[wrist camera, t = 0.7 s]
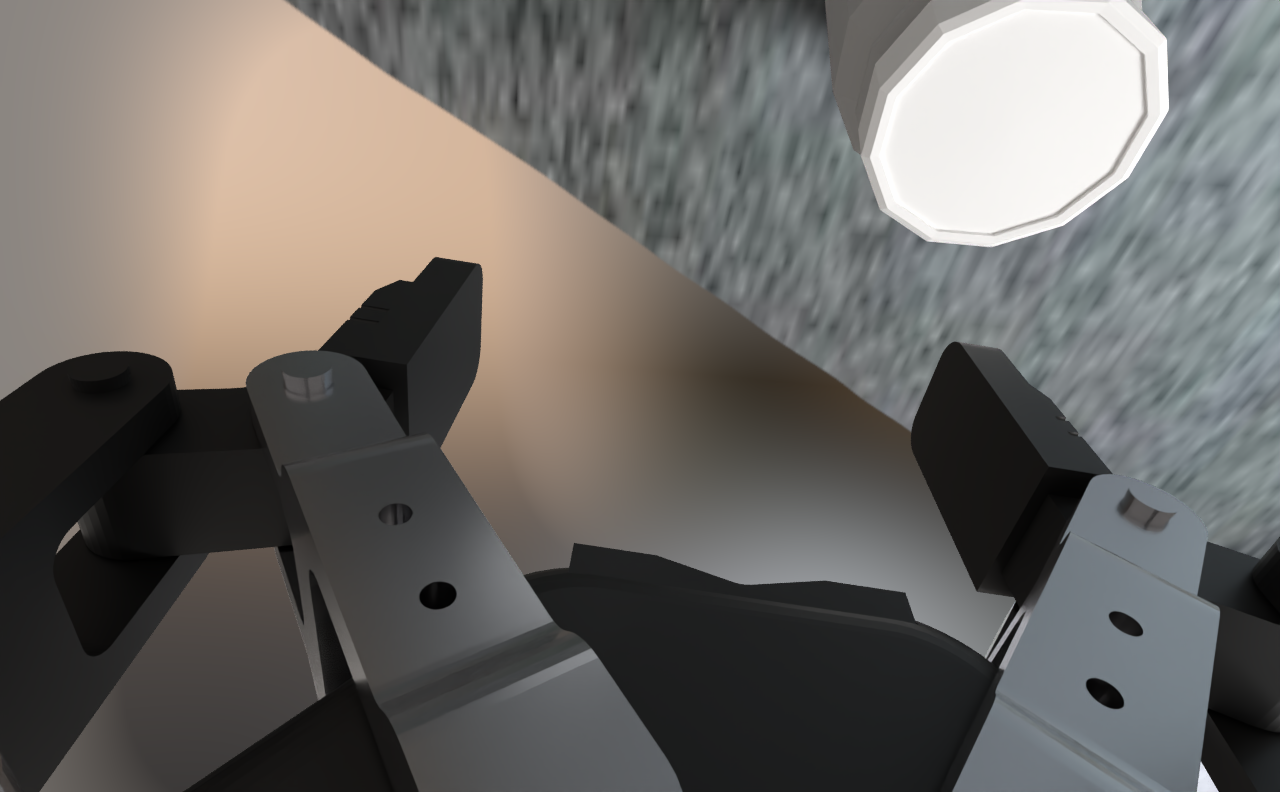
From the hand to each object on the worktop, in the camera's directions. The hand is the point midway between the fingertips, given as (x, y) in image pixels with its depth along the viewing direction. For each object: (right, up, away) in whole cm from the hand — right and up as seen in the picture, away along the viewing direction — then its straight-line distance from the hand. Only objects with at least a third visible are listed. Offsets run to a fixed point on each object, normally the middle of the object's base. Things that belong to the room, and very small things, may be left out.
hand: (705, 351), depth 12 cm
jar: (+12, +21, +21) cm, 32 cm away
